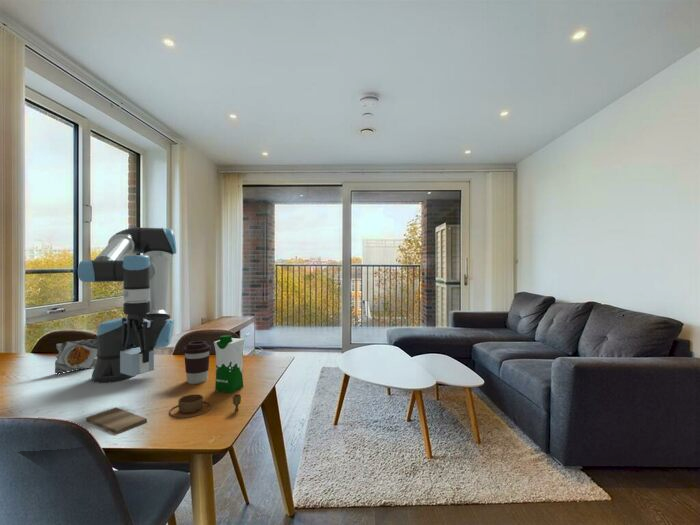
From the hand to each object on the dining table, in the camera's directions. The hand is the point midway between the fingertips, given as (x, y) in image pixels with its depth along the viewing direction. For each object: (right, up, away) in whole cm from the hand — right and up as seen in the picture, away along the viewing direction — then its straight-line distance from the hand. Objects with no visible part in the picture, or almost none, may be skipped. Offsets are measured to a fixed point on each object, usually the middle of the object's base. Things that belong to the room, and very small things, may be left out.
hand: (137, 369), depth 115 cm
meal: (-45, -11, +32) cm, 56 cm away
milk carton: (+27, -11, +11) cm, 31 cm away
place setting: (+25, -11, -10) cm, 29 cm away
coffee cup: (+11, -11, +20) cm, 25 cm away
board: (+4, -11, -16) cm, 20 cm away
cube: (0, 0, 0) cm, 0 cm away
